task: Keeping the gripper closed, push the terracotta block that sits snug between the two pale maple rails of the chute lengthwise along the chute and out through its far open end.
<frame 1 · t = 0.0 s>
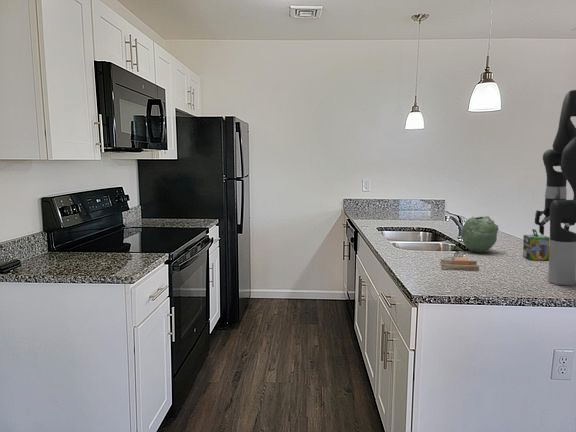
hand: (553, 234, 176), 17 cm above the countertop, tool pointing down, fingers open, 8 cm apart
chute: (459, 266, 195), on the countertop
chalk box: (535, 259, 207), on the countertop
terracotta block: (461, 267, 195), on the countertop
cabbage: (478, 252, 225), on the countertop
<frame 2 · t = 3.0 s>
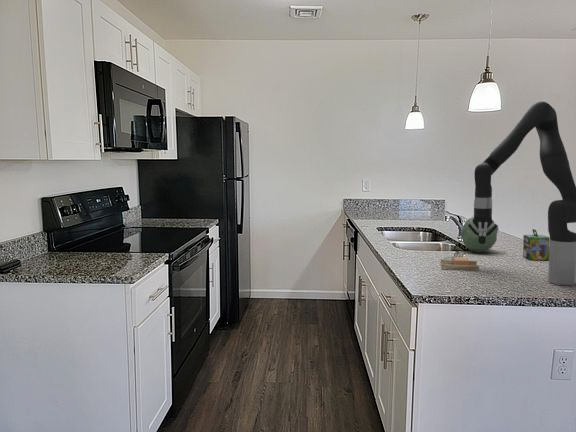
hand: (481, 243, 192), 11 cm above the countertop, tool pointing down, fingers closed
nothing on the countertop moved.
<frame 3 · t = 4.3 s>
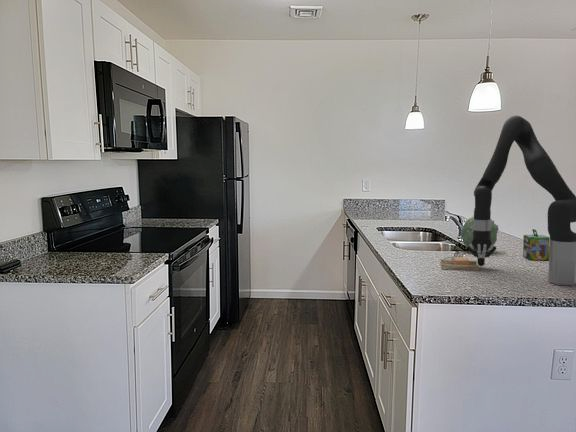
hand: (481, 265, 192), 1 cm above the countertop, tool pointing down, fingers closed
nothing on the countertop moved.
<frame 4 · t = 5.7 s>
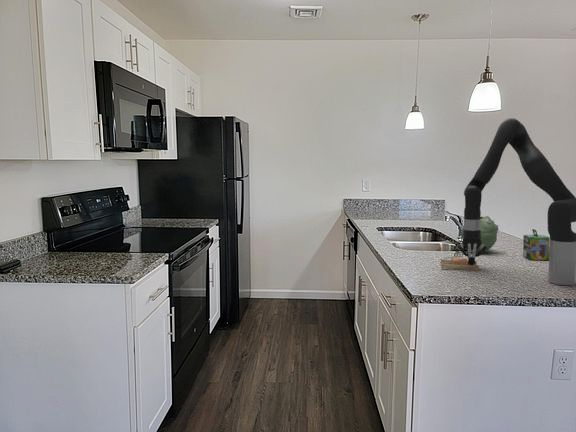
hand: (471, 264, 194), 1 cm above the countertop, tool pointing down, fingers closed
terracotta block: (459, 267, 196), on the countertop, touching gripper
everything else where it was.
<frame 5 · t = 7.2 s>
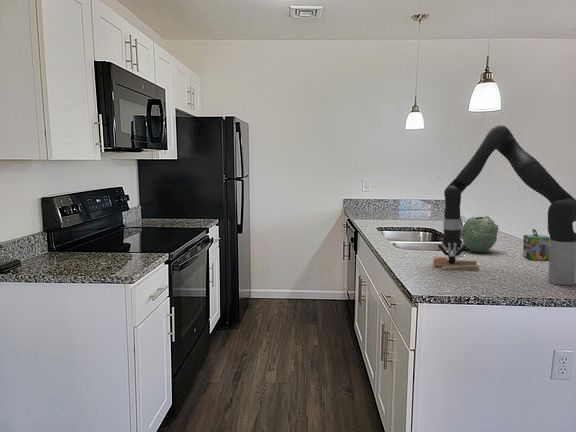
hand: (451, 263, 197), 1 cm above the countertop, tool pointing down, fingers closed
terracotta block: (440, 265, 199), on the countertop, touching gripper
everything else where it was.
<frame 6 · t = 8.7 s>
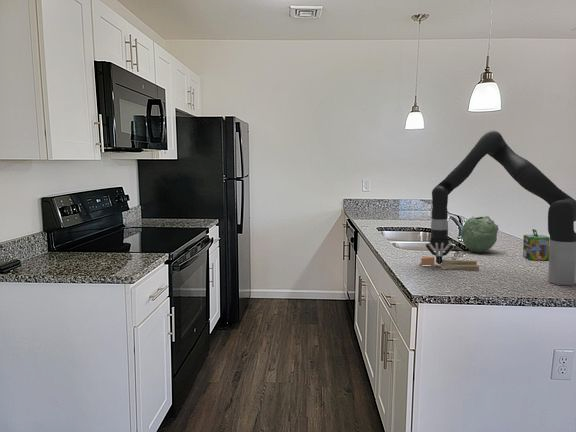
hand: (439, 263, 198), 1 cm above the countertop, tool pointing down, fingers closed
terracotta block: (427, 265, 201), on the countertop
everything else where it was.
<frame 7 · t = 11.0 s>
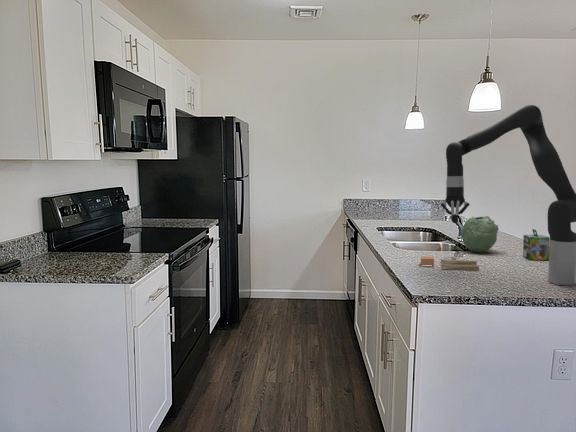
hand: (454, 222, 193), 21 cm above the countertop, tool pointing down, fingers closed
nothing on the countertop moved.
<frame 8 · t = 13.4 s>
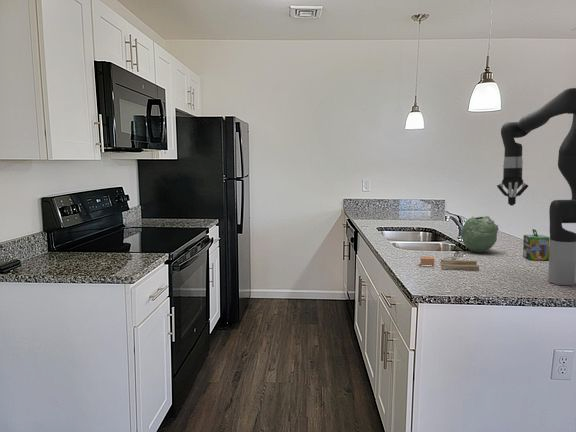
hand: (511, 205, 188), 29 cm above the countertop, tool pointing down, fingers closed
nothing on the countertop moved.
at the end: terracotta block inside the target area (1.9 cm from its centre), on the countertop; terracotta block tilted 0°; terracotta block moved 15.3 cm from its start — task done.
